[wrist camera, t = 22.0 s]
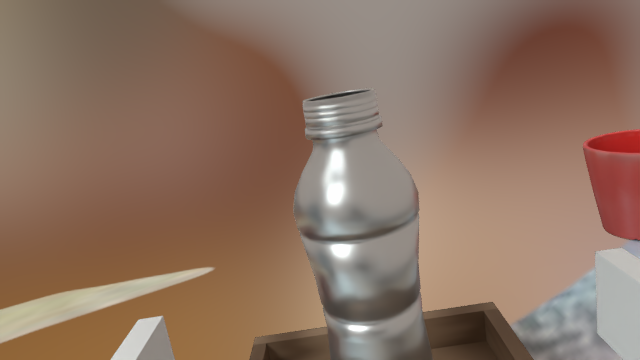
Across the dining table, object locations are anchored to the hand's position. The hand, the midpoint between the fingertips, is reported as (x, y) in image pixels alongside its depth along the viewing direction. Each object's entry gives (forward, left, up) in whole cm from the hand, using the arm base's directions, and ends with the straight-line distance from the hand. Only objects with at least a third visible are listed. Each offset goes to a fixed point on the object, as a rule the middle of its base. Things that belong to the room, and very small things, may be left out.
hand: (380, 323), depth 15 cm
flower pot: (+30, +36, -15) cm, 49 cm away
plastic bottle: (0, +10, -14) cm, 17 cm away
